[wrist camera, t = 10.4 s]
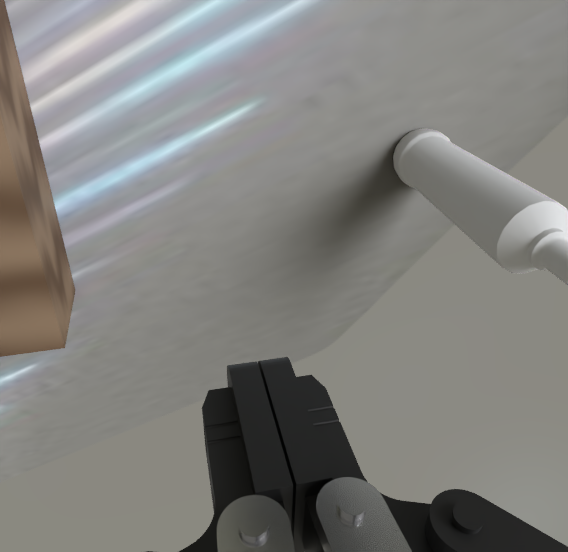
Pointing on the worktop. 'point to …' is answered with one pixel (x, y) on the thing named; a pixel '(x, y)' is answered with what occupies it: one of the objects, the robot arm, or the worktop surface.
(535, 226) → the bottle
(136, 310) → the worktop surface
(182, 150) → the worktop surface
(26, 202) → the walnut block
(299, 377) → the robot arm
